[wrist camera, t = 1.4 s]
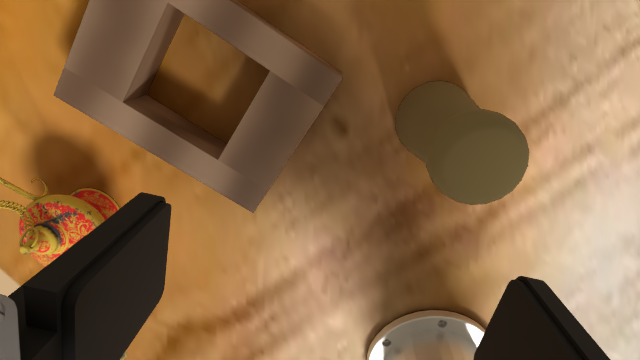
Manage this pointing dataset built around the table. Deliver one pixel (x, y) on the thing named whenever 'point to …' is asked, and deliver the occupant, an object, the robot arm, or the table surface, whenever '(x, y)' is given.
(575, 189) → the table surface
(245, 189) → the shaker holder
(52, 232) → the magic lamp
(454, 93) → the cork
